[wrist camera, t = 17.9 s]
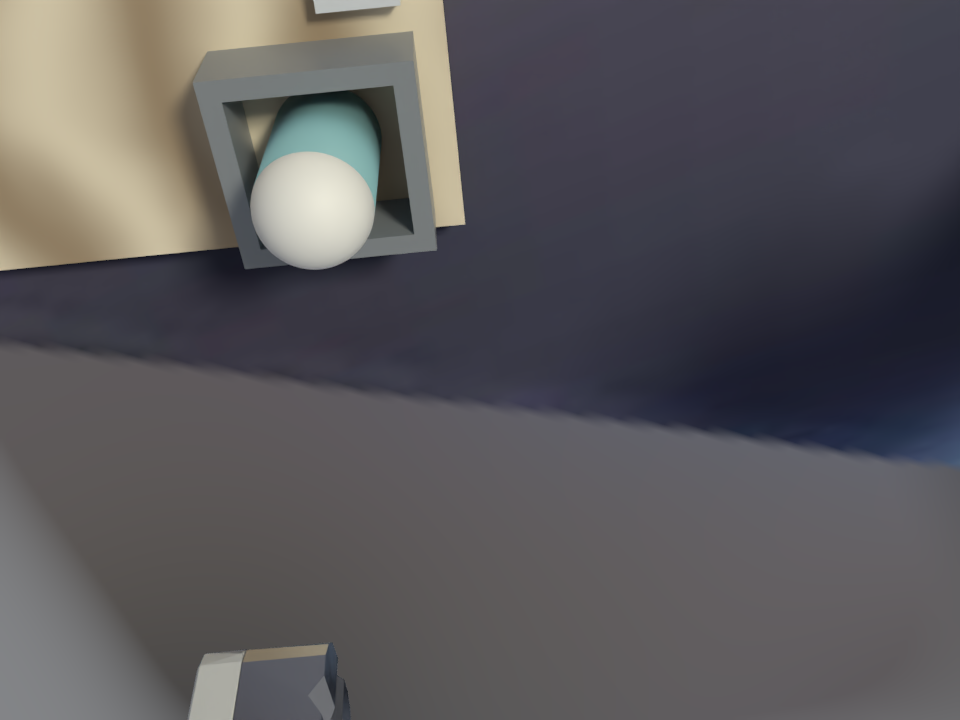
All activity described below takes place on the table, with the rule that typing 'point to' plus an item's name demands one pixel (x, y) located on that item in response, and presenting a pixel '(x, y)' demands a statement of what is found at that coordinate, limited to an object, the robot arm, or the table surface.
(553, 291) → the table surface
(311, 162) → the capsule
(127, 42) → the board
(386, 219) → the frame
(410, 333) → the table surface
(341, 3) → the plank
